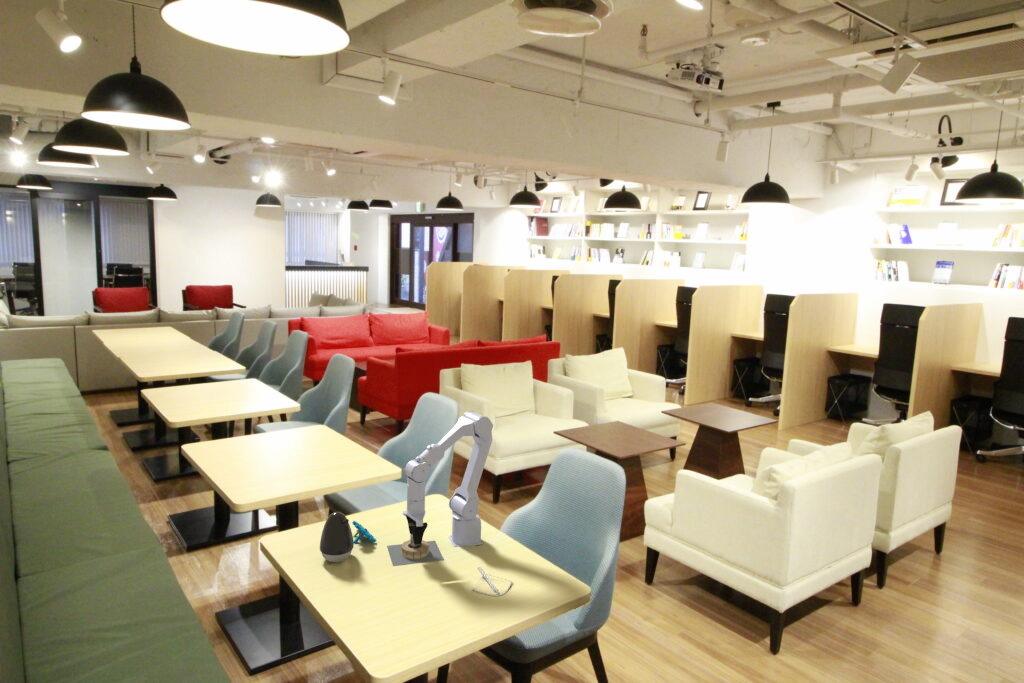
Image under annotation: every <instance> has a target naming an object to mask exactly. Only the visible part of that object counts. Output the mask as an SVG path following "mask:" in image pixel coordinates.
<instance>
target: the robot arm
mask: <svg viewBox="0 0 1024 683" xmlns="http://www.w3.org/2000/svg"><path fill="white" fill-rule="evenodd" d="M493 428H494V424H493V423H492V421H491V419H490V418H489V417H488V416H484V415H482V414H480V413H477V412H475V411H474V410H467V411H465V412H464V413H463V415H462V416H460V417H459V418H458V420H457V422H456V424H455V425H454V426H453V427H452V428H451V429H450V430H448V432H447V433H446V434H445V435H444V436H443V437H442V438H441V439H440V440H439V441H438V442H437V443H431V445H430V444H428V445H427V446H426V449H425V450H423V451H422V453H420V454H419V455H418V456H416V457H415V459H412V460H409V461H408V462H407V463H406V465H405V468H403V473H404V475H405V476H406V510H404V511H402V514H403V516H405V518H406V521H407V526H408V530H409V534H410V535H411V534H412V535H413V541H414V544H415V545H417V544H421V542H422V541H423V537H424V534H425V531H426V529H427V527H428V525H429V523H428V522H424V518H425V517H426V516H425V515H426V510H425V509H426V480H427V479H428V477H429V475H430V473H431V470H432V469H433V468H434V467H435V466H436V465H437V464H439V463H440V461H441V460H443V458H444V457H445V452H446V451H447V450H448V449H450V448H451V447H452V446H453V445H455V444H456V443H457V442H458V441H460V440H461V439H462V438H463V437H472V438H473V440H474V442H473V447H472V450H471V452H470V456H469V460H468V461H467V466H466V469H465V472H464V474H463V479H462V481H461V485H460V486H459V487H457V488H455V490H454V492H453V495H451V497H450V498H449V501H448V506H449V509H450V510H451V513H452V514H451V515H452V518H451V519H452V520H451V523H452V525H451V535H449V536H448V540H449V541H450V543H451V545H452V546H453V547H454V548H456V547H457V548H458V547H467V546H481V545H482V538H481V537H482V520H481V517H480V515H479V514H478V512H479V502H480V497H479V494H478V492H477V490H478V487H479V483H480V481H481V478H482V474H483V471H484V468H485V465H486V461H487V458H488V455H489V453H490V448H491V445H492V443H493V432H492V431H493Z"/></svg>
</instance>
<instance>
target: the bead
mask: <svg viewBox="0 0 1024 683" xmlns="http://www.w3.org/2000/svg"><path fill="white" fill-rule="evenodd" d="M401 544H402V545H401V554H402V556H403V557H405V558H408V559H420V558H423V557H425V556H427V555H428V553H429V545H428V543H427V541H426V540H424V539H422V542H421V544H420V548H416V549H413V548H410V539H409V540H405V541H403V542H402V543H401Z"/></svg>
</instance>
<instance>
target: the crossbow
mask: <svg viewBox="0 0 1024 683" xmlns="http://www.w3.org/2000/svg"><path fill="white" fill-rule="evenodd" d="M477 570H478V571H479V573H480V574H481V577H480V578H479V580H478V581H477V582H476V584H478V583H479V582H480V580H481V579H482V578H483V579H484V581H485V582H486V583H487V585H488V586H489V587H490V588H491V590H492V591H493V593H494V594H491V593H486V592H483V591H481V590H477V589H474V588H476V585H473V587H472V588H471V592H473V593H474V592H475V593H477V594H480V595H485V596H490V597H496V596H498V597H501V595H502V596H504V595H505V594H506V593H508V591H509V590H510V588H511V587H512V584H513V580H509V579H504V578H500V577H499V576H495V575H493V577H494V578H499V579H501V580H504V581H508V582H510V584H509V585H508V587H507V588H506V590H505V591H504V592H502V593H500V591H499V589H498V588H497V586H495V584H494V583H493V581H492V580H491V579H490V577H489V576H491V577H492V575H491V574H487V573H486V572H485V571H484V569H483V567H482V566H478V567H477ZM510 586H511V587H510ZM508 589H509V590H508ZM495 593H496V594H495ZM503 594H504V595H503Z"/></svg>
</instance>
